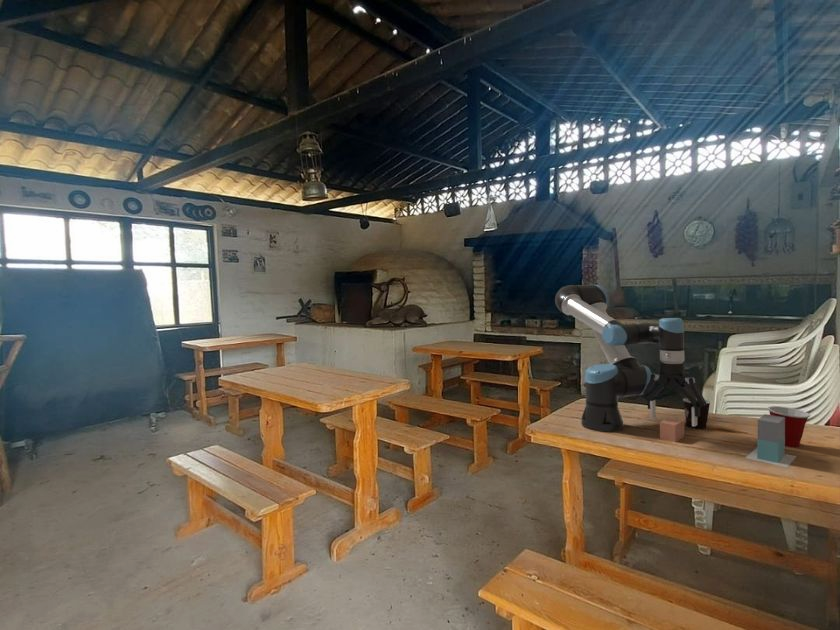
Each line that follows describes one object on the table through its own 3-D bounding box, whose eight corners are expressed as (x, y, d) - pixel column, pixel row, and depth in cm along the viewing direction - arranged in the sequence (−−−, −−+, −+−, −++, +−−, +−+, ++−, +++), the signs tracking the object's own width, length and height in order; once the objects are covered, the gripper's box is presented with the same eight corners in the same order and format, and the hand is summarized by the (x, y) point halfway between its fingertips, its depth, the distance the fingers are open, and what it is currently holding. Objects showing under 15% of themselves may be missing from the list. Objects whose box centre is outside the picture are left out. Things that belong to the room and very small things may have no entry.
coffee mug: (710, 431, 161) (710, 404, 160) (682, 428, 165) (682, 402, 165) (709, 423, 171) (709, 397, 170) (683, 420, 175) (683, 395, 175)
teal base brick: (757, 458, 134) (757, 439, 134) (764, 451, 139) (764, 432, 139) (778, 463, 130) (778, 443, 130) (784, 455, 135) (784, 436, 135)
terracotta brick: (659, 438, 156) (659, 422, 155) (669, 433, 161) (669, 417, 160) (675, 442, 152) (675, 425, 151) (684, 436, 157) (684, 420, 156)
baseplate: (745, 459, 135) (745, 457, 135) (756, 449, 142) (756, 447, 142) (786, 469, 127) (786, 467, 127) (796, 458, 135) (796, 456, 134)
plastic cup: (811, 454, 137) (812, 416, 136) (767, 447, 144) (767, 411, 143) (809, 444, 145) (809, 408, 145) (767, 438, 152) (767, 404, 152)
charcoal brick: (757, 439, 134) (757, 419, 133) (764, 432, 139) (764, 414, 138) (778, 443, 130) (778, 423, 129) (784, 436, 135) (785, 417, 134)
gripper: (631, 360, 162) (632, 417, 163) (708, 366, 143) (709, 431, 143) (640, 358, 167) (641, 413, 167) (716, 363, 147) (717, 426, 148)
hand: (673, 421), depth 155 cm, fingers open, 13 cm apart
